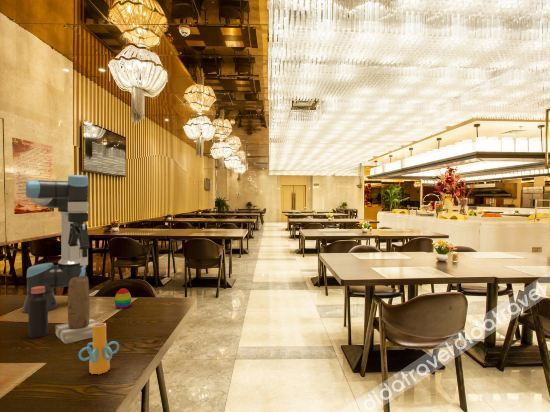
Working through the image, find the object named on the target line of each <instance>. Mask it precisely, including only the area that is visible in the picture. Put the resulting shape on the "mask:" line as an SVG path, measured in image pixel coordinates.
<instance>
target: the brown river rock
mask: <svg viewBox="0 0 550 412" xmlns="http://www.w3.org/2000/svg"><path fill="white" fill-rule="evenodd" d="M90 312H91V311H90V283H89V277H88V276H87V275H85V276H80V277H73V278H72V279H71V280H70V282H69V286H68V289H67V323H68V326H69V328H82V327H85V326H87V325H88V324H89V318H90Z"/></svg>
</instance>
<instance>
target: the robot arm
mask: <svg viewBox="0 0 550 412" xmlns="http://www.w3.org/2000/svg"><path fill="white" fill-rule="evenodd" d="M89 184H90V183H89V177H88V175H83V174H70V175H68V178H67V180H38V179H32V180H31V179H30V180H26V181H25V196H26V198H28V199H30V200H31V202H32V203H33V204H35V205H37V206H40V207H42V208H49V209H57V211H58V213H59V214H61V223H60V224H61V229H60V230H61V231H60V233H61V234H60V235H61V238H60V239H61V240H60V242H61V243H60V244H61V247H60V248H61V250H60V251H61V254H60V255H61V258H60V259H59V260H58V262H57V265H54V262H45V263H39V264H36V265H32V266H29V267H28V268H27V270H26V297H25V300H24V303H23V306H22V313H26V314H29V310H28V301H29V299H30V298H31V297H32V295H31V288H32V287H37V286H45V293H44V295H45V296H46V297H47V298H48V312H50V311H53V310H56V309H58V301H57V298H56V296H55V293H54V288H55V289H56V288H64V287H69V282H70V280H71V279H72V278H73V277H80V276H86V271H87V270H86V266H88V265H89V248H91V244H90V238H89V232H88V224H85V223H87V222H89V220H90V219H89V213H88V212H89V207H90V204H89Z"/></svg>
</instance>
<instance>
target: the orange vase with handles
mask: <svg viewBox="0 0 550 412" xmlns="http://www.w3.org/2000/svg"><path fill="white" fill-rule="evenodd" d="M113 344H114V345H115V346H116V348H115V350H114V351H112V348H111V347H110V346H111V345H113ZM86 345H87V346H85V347H83V348H81V349H80V350H79V352H78V358H79V360H80V361H84V362H85V361H88V360H89V362H88V363H89V364H88V365H89V367H88V368H89V369H88V371H89V374H90V373H91V375H93V374H98V375H101V374H102V373H103V374H105V373H107V372H109V371H108V370H110V368H111V364H110V363H111V359H112V357H113V355H114V354H116V353H118V352H119V350H120V344H119V342H118V341H114V340H113V341H110V342H109V343H108V340H107V323H106V322H98V323H97V324H94V325H93V337H92V341H91V342H88V343H87V344H86ZM91 346H92V347H91ZM84 351H87V353H88V354H89V356H87V357H83V356H82V353H83V352H84Z"/></svg>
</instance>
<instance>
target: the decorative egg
mask: <svg viewBox="0 0 550 412" xmlns="http://www.w3.org/2000/svg"><path fill="white" fill-rule="evenodd" d="M131 303H132V296H131V293H130V292H129V290H128V289H127V288H124V287H123V288H120V289H119V290H118V291H117V292H116V294H115V297H114V305H115V307H116V308H117V309H120V310H121V309H122V310H123V309H127V308H129V307H130V305H131Z"/></svg>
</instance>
